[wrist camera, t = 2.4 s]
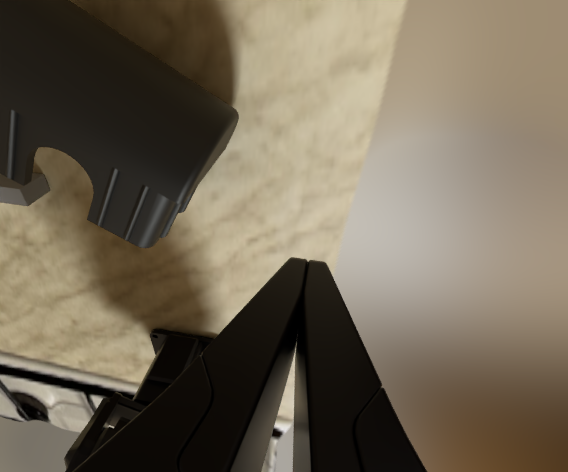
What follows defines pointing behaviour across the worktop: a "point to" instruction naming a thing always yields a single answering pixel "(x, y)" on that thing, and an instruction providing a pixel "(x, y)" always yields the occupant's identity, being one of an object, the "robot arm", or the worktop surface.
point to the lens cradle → (23, 190)
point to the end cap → (105, 116)
